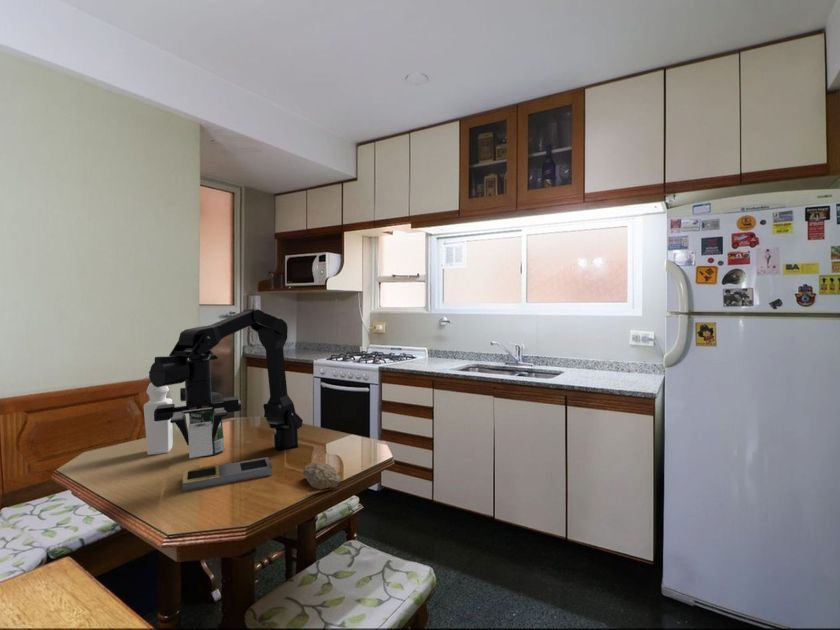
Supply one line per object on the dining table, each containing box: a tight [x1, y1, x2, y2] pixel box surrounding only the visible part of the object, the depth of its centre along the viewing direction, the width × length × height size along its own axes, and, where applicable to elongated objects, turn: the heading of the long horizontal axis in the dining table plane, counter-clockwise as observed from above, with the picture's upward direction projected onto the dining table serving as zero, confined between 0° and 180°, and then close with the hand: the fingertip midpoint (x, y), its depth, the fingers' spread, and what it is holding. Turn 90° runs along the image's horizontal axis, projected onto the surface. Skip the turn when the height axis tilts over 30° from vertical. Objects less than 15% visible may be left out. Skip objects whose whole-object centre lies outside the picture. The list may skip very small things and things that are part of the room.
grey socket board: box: [181, 456, 273, 492], centre depth 110 cm, size 20×9×3 cm, turn 116°
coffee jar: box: [188, 391, 225, 458], centre depth 131 cm, size 10×8×19 cm
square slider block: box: [187, 421, 213, 459], centre depth 107 cm, size 5×5×7 cm
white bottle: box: [143, 382, 173, 456], centre depth 134 cm, size 6×6×22 cm
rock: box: [302, 462, 342, 490], centre depth 105 cm, size 8×11×4 cm
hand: (200, 443), depth 107 cm, fingers closed on square slider block, 5 cm apart
